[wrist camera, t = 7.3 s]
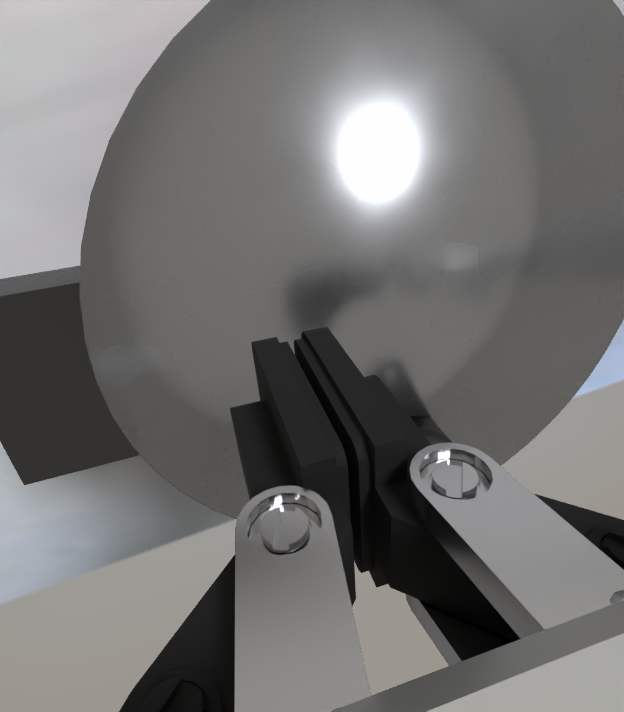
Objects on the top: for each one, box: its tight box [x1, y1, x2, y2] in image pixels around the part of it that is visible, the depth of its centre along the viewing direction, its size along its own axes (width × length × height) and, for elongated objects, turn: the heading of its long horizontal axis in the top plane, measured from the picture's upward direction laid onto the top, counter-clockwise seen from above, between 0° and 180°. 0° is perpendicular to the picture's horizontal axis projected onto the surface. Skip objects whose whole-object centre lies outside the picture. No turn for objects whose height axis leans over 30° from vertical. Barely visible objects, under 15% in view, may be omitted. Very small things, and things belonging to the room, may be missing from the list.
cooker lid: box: [0, 0, 624, 519], centre depth 13 cm, size 20×17×3 cm
